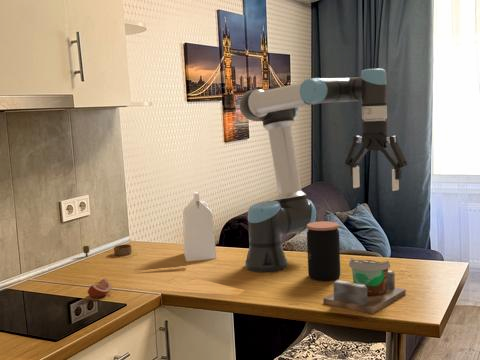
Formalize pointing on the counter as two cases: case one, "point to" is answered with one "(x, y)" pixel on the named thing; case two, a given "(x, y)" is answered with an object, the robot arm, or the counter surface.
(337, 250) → the coffee jar
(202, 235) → the milk
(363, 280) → the food container
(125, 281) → the counter surface
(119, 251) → the place setting
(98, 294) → the fruit slice
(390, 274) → the holder
